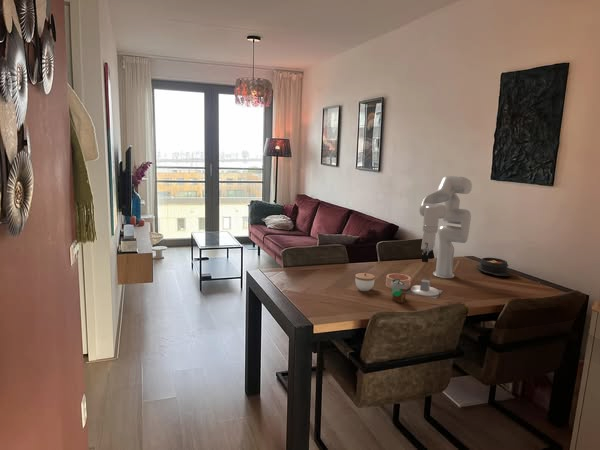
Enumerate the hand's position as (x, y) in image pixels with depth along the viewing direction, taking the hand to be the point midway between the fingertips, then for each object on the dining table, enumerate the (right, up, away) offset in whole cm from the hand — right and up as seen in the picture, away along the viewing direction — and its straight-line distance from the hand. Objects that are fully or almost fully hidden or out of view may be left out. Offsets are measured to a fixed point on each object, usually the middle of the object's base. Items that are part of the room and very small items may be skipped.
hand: (427, 260), depth 233 cm
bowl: (-13, -16, +11) cm, 24 cm away
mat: (-1, -18, +3) cm, 18 cm away
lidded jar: (-33, -17, +5) cm, 37 cm away
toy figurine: (-19, -20, -10) cm, 29 cm away
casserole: (+56, -12, +47) cm, 74 cm away
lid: (-1, -17, +3) cm, 18 cm away
